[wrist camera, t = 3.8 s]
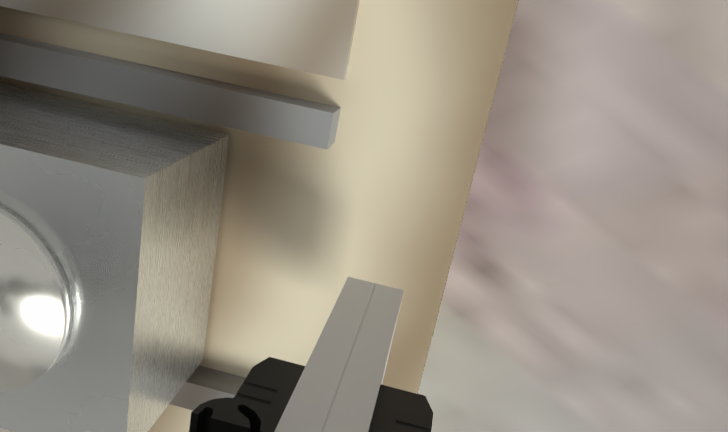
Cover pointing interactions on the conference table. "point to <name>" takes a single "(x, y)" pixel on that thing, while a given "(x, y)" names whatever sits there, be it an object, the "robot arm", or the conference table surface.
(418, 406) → the robot arm
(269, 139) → the base
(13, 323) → the grey dimpled block
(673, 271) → the conference table surface
